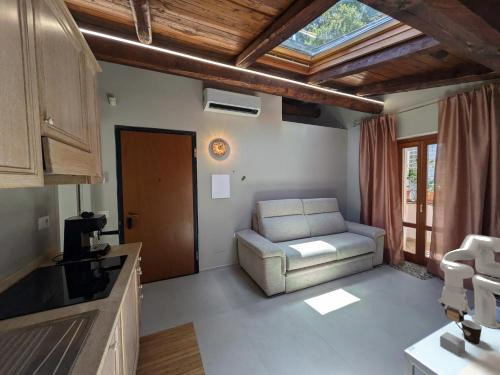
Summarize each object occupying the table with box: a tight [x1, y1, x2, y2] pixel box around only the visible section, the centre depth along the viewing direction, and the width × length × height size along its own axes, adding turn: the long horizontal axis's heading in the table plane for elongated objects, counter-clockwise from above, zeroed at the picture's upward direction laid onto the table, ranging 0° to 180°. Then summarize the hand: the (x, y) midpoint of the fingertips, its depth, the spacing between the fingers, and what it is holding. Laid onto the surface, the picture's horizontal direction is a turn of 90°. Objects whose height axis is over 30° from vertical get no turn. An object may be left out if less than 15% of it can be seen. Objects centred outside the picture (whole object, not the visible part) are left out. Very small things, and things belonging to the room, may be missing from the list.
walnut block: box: [446, 306, 460, 324], centre depth 118 cm, size 5×5×5 cm
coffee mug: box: [454, 318, 483, 345], centre depth 125 cm, size 12×9×10 cm
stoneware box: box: [439, 331, 466, 357], centre depth 119 cm, size 8×8×6 cm
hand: (454, 318), depth 118 cm, fingers closed on walnut block, 5 cm apart
